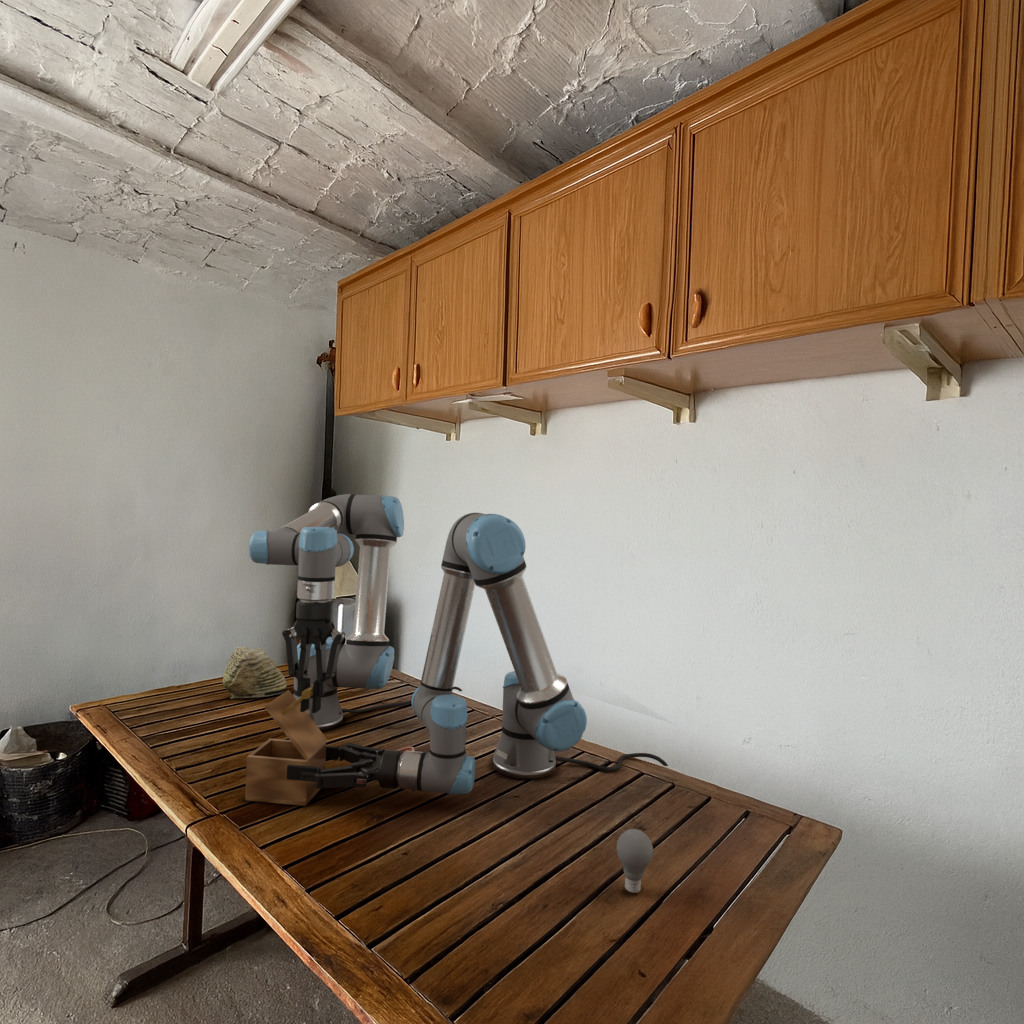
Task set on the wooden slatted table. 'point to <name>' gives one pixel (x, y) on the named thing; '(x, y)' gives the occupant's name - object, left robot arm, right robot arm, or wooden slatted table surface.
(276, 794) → the chest
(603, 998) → the wooden slatted table surface
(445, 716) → the right robot arm
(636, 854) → the light bulb
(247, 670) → the fossil
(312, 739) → the lid
